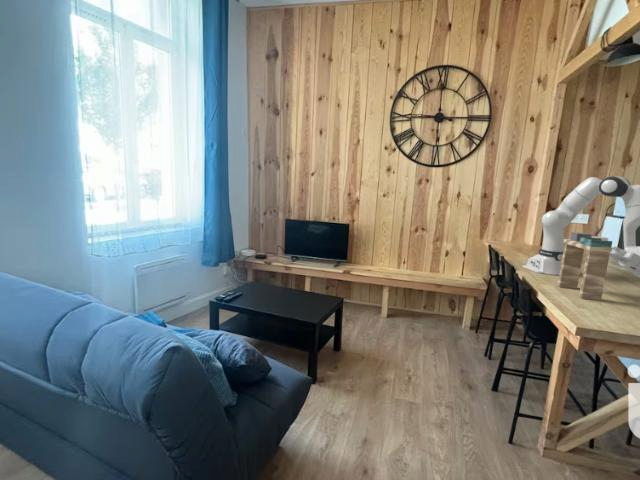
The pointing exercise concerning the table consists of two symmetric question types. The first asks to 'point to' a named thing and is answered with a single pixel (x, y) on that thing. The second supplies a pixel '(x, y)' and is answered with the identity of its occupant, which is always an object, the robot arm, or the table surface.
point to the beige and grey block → (584, 236)
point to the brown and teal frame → (592, 269)
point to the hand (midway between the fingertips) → (607, 246)
